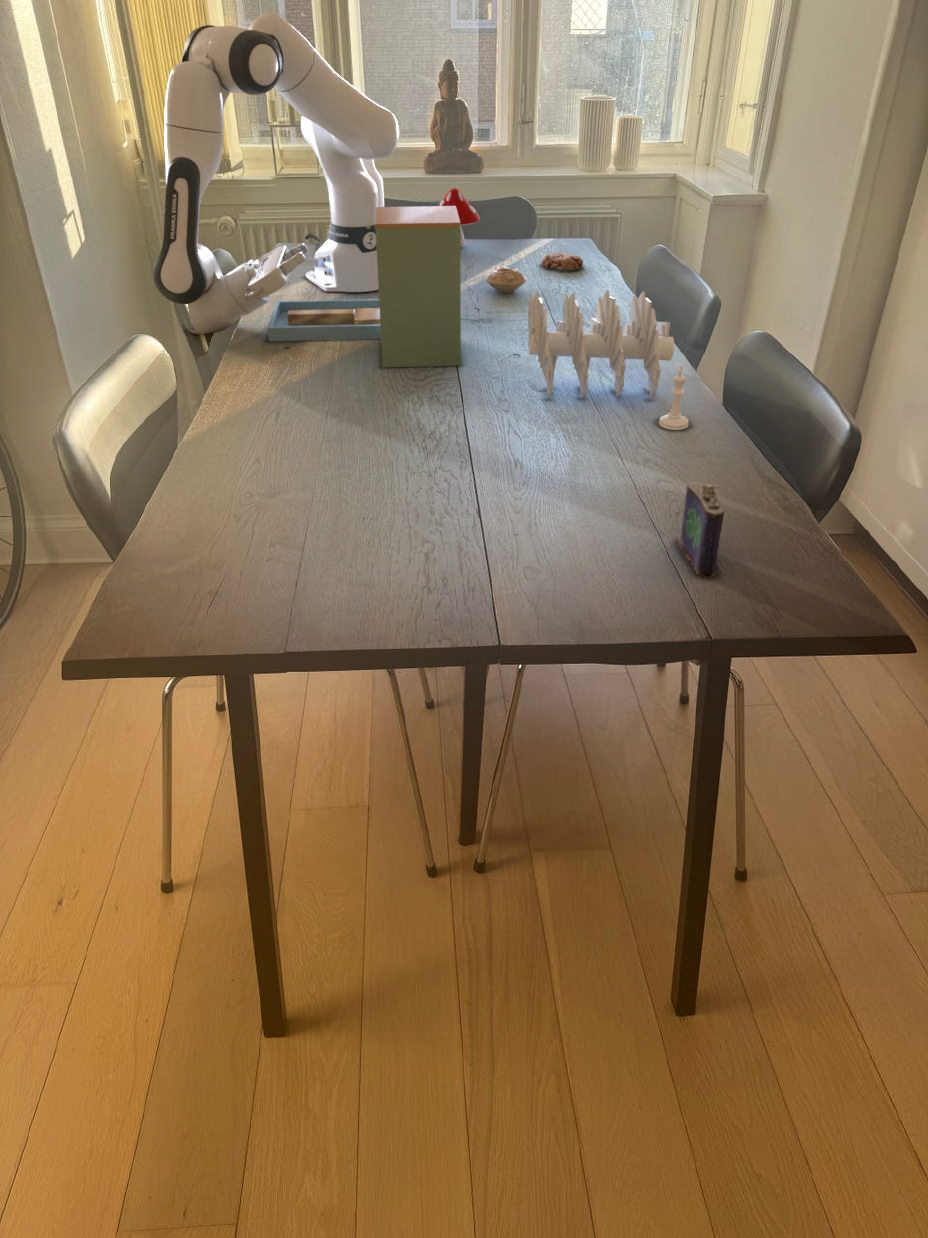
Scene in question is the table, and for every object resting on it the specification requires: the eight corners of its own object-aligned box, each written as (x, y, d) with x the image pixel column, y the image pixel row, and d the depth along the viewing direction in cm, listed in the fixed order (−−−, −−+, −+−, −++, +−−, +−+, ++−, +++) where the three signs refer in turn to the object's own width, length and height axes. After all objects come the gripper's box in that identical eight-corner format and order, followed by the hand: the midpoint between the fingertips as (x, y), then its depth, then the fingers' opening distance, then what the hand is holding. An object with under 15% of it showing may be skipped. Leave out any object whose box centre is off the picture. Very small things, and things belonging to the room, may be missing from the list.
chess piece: (690, 420, 161) (698, 362, 155) (686, 431, 157) (694, 373, 151) (661, 416, 162) (668, 359, 156) (656, 427, 158) (663, 369, 152)
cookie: (542, 261, 246) (543, 249, 244) (583, 262, 244) (584, 250, 243) (539, 271, 237) (540, 259, 236) (582, 273, 236) (583, 260, 234)
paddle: (287, 328, 198) (286, 317, 197) (290, 316, 205) (289, 306, 204) (397, 326, 199) (397, 315, 198) (397, 314, 206) (397, 304, 205)
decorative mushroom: (423, 252, 253) (421, 191, 244) (433, 240, 264) (432, 181, 255) (475, 254, 251) (475, 193, 242) (483, 242, 262) (483, 183, 253)
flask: (675, 541, 127) (686, 468, 121) (696, 540, 127) (708, 467, 121) (698, 578, 120) (711, 502, 113) (721, 576, 120) (735, 501, 114)
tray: (269, 341, 194) (267, 327, 192) (277, 313, 209) (276, 300, 208) (423, 338, 196) (423, 324, 194) (421, 310, 211) (420, 298, 209)
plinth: (382, 367, 182) (375, 223, 167) (383, 343, 193) (376, 206, 178) (460, 365, 182) (460, 222, 167) (456, 341, 194) (455, 205, 179)
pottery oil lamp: (516, 278, 230) (528, 254, 225) (516, 309, 223) (529, 285, 218) (482, 266, 228) (493, 242, 222) (482, 297, 221) (493, 273, 215)
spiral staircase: (664, 422, 170) (525, 416, 169) (655, 350, 179) (522, 344, 177) (690, 346, 154) (537, 339, 153) (679, 271, 163) (534, 265, 162)
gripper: (233, 287, 186) (291, 249, 183) (246, 260, 203) (299, 225, 200) (253, 314, 190) (310, 278, 186) (264, 286, 206) (316, 252, 203)
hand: (304, 250), depth 193 cm, fingers open, 6 cm apart
